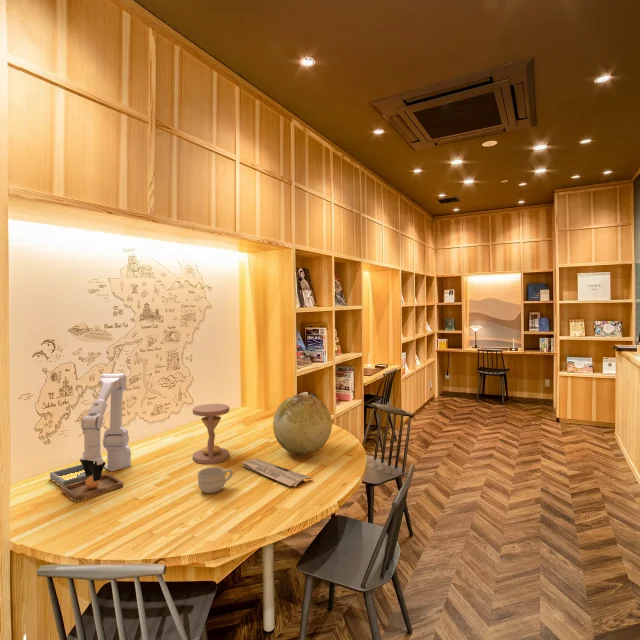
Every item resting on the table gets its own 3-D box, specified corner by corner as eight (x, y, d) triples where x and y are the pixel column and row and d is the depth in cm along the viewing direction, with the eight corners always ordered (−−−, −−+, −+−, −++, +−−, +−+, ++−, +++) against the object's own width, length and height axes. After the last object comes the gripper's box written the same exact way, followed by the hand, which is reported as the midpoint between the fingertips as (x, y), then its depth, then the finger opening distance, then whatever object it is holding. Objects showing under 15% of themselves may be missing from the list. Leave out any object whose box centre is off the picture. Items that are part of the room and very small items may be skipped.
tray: (107, 478, 180) (107, 473, 180) (123, 487, 171) (123, 482, 171) (61, 492, 166) (61, 486, 166) (75, 502, 157) (75, 497, 157)
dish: (87, 469, 190) (87, 462, 190) (101, 477, 180) (101, 470, 180) (50, 479, 178) (50, 472, 178) (63, 489, 169) (63, 481, 169)
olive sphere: (287, 441, 232) (287, 387, 231) (338, 447, 222) (339, 391, 221) (262, 459, 204) (262, 398, 203) (320, 467, 194) (320, 403, 193)
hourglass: (224, 464, 197) (224, 411, 196) (188, 464, 197) (187, 411, 196) (232, 451, 215) (232, 403, 214) (198, 451, 214) (198, 403, 214)
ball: (96, 484, 172) (96, 472, 172) (101, 487, 169) (101, 475, 169) (83, 488, 168) (83, 476, 168) (88, 491, 165) (88, 479, 165)
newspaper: (312, 481, 179) (312, 473, 179) (292, 491, 169) (292, 482, 169) (257, 462, 202) (257, 454, 201) (237, 469, 192) (236, 462, 192)
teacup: (197, 497, 162) (197, 477, 162) (197, 486, 172) (197, 467, 172) (233, 493, 166) (233, 473, 166) (232, 482, 176) (232, 463, 176)
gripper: (74, 443, 170) (74, 476, 170) (89, 451, 161) (89, 486, 161) (92, 439, 175) (93, 471, 176) (108, 446, 166) (108, 480, 166)
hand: (92, 477), depth 169 cm, fingers open, 7 cm apart
